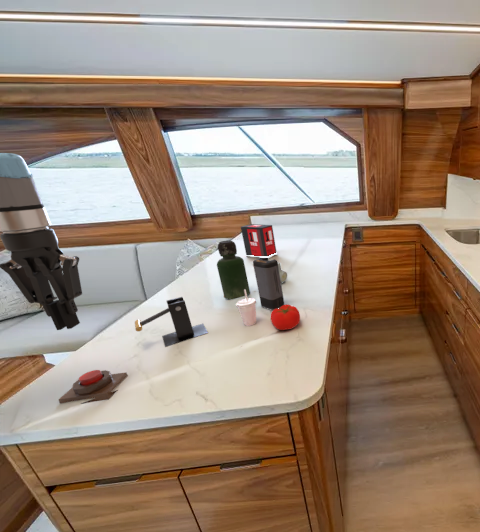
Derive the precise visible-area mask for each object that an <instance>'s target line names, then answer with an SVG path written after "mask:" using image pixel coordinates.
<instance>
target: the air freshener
mask: <svg viewBox="0 0 480 532" xmlns="http://www.w3.org/2000/svg"><path fill="white" fill-rule="evenodd" d="M277 262H278V268H279V274H280V280H281V284H283V283H284V282H285V281H286V280H287V278H288V272H287V271H285V270H283V269H282V265H281V262H279V261H277ZM282 282H283V283H282Z"/></svg>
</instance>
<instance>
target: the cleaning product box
mask: <svg viewBox="0 0 480 532" xmlns="http://www.w3.org/2000/svg"><path fill="white" fill-rule="evenodd" d="M273 228H274V227H273V225H272V224H254V223H251V224H246V225H242V226H240V230H241V235H242V239H243V244H244V250H245V256H246V255H254V256H269V255H271V254H274V253H276V252H277V246H276V240H275V234H274V229H273Z"/></svg>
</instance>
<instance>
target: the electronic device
mask: <svg viewBox="0 0 480 532" xmlns="http://www.w3.org/2000/svg"><path fill="white" fill-rule="evenodd" d="M278 262H279V261H278V260H277V259H276V258H275V259H270V260H269V259H268V258H255V259H254V260H252V264H253V270H254V276H255V280H256V287H257V292H258V296H259V301H260V306H261V307H262V308H264V307H265V309H267V308H268V310H270V309H271V310H270V311H273V310H274V309H278V308H280V307H281V306H283V305H285V300H284V292H283V287H282V283H281V280H280V274H279V268H278Z"/></svg>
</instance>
